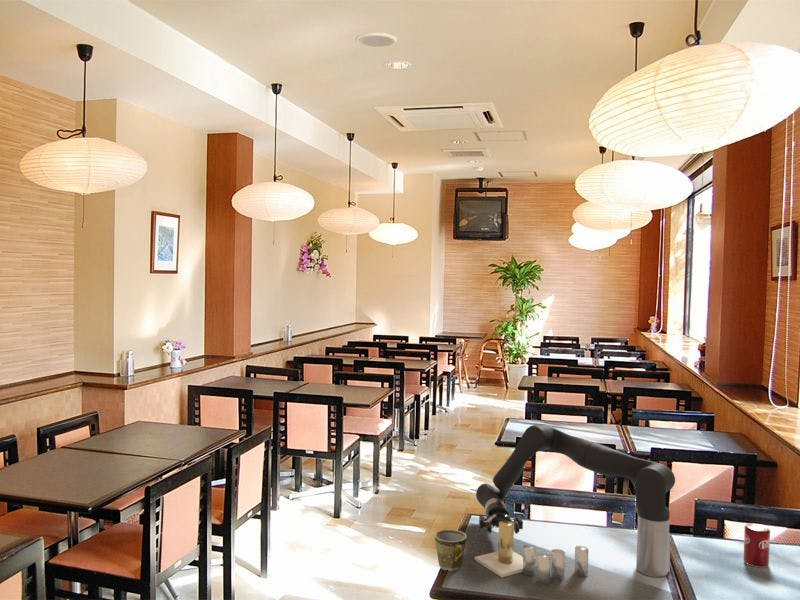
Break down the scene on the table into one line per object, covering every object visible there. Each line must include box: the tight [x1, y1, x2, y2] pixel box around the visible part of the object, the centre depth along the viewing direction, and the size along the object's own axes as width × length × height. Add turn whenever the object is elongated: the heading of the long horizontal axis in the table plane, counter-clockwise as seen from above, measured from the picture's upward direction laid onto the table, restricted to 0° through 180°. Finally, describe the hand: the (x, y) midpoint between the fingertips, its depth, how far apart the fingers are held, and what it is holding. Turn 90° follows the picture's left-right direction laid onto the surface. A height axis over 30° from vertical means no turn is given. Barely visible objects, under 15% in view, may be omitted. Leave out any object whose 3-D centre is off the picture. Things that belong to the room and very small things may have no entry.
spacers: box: [522, 544, 589, 586], centre depth 204 cm, size 18×12×8 cm, turn 120°
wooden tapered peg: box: [497, 521, 515, 564], centre depth 210 cm, size 5×5×12 cm
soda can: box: [743, 522, 771, 568], centre depth 214 cm, size 7×7×12 cm
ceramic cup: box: [434, 528, 468, 572], centre depth 206 cm, size 13×10×10 cm
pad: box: [474, 550, 537, 578], centre depth 210 cm, size 14×14×1 cm
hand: (503, 530), depth 214 cm, fingers open, 8 cm apart
